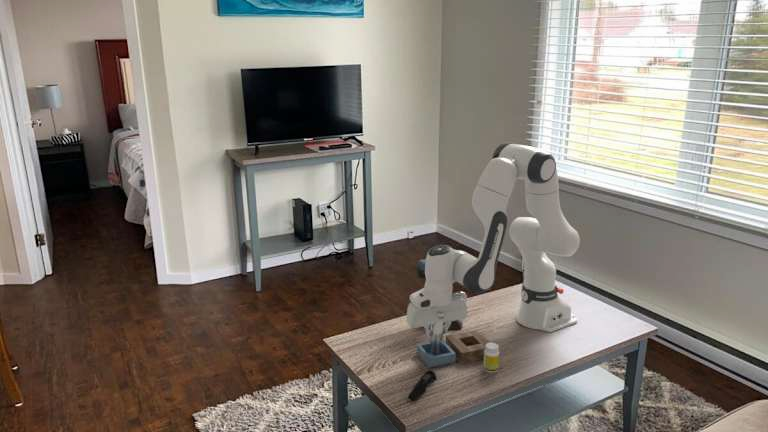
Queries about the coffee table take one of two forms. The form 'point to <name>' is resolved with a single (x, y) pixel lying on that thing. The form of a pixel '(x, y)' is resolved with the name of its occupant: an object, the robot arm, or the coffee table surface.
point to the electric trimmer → (422, 385)
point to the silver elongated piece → (437, 336)
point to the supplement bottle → (491, 358)
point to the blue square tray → (433, 360)
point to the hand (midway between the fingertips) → (436, 334)
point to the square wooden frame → (467, 345)
